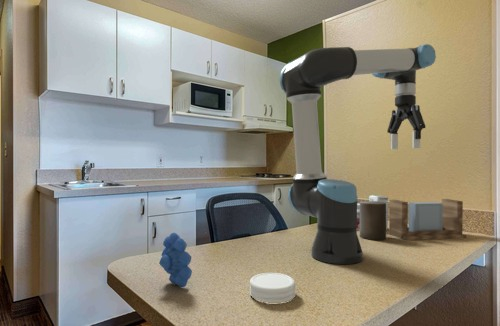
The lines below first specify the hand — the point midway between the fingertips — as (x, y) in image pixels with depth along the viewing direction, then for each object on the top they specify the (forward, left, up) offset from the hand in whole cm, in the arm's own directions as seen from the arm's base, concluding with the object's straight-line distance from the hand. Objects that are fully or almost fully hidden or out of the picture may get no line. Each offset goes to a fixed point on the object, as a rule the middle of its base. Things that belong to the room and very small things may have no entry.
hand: (404, 148), depth 127 cm
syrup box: (-4, +12, -35) cm, 37 cm away
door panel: (+8, -2, -34) cm, 35 cm away
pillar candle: (-15, -2, -35) cm, 38 cm away
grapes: (-88, -40, -35) cm, 103 cm away
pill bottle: (-13, +12, -35) cm, 39 cm away
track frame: (+8, -2, -35) cm, 36 cm away
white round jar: (-66, -48, -35) cm, 89 cm away
